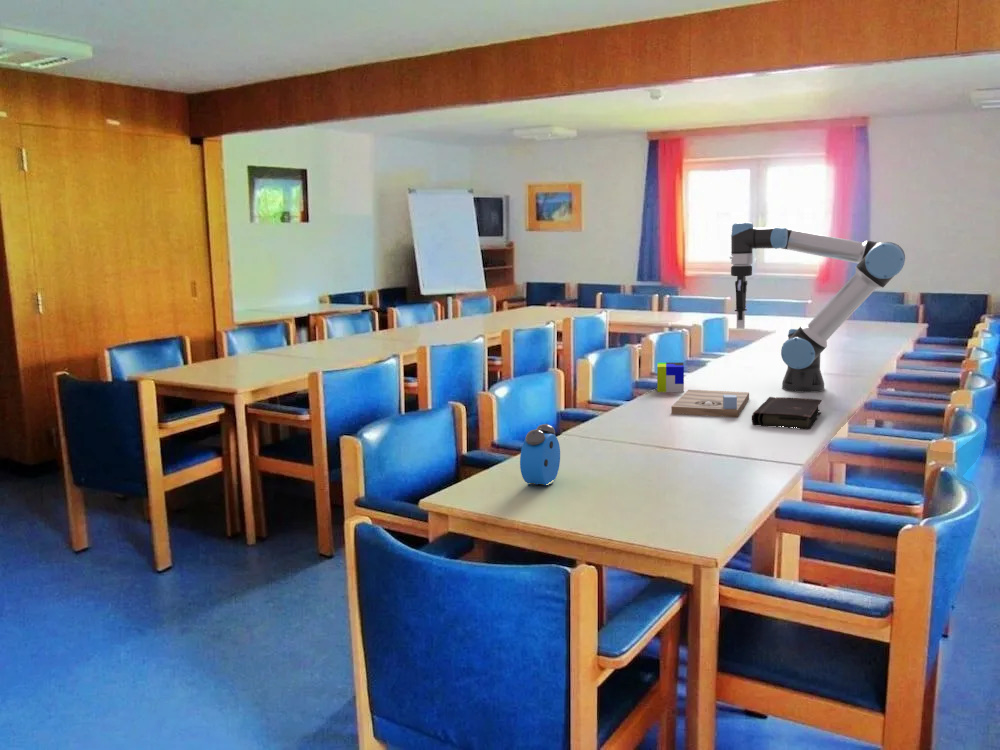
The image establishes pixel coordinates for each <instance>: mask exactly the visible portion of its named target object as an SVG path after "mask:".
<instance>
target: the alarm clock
mask: <svg viewBox="0 0 1000 750" xmlns="http://www.w3.org/2000/svg"><path fill="white" fill-rule="evenodd" d="M519 458H520V459H519V469H520V473H521V476H522V479H523V480H524V482H525V483H526V482H527V484H528V483H535V484H534V485H538V484H544V485H543V486H547V485H546V484H548V483H549V482H551V481H552V480H554V479H555V480H556V479H557V477H558V474H559V471H560V470H559V469H560V466H561V465H560V464H561V447H560V442H559V439H558V437H557V436H556V430H555V428H554V426H553V425H550V424H548V423H544V424H540V425H538V426H537V427H536V429H531V430H530V431H528V432H527V433H526V436H525V439H524V440H523V443H522V447H521V450H520V456H519ZM555 480H554V481H555Z"/></svg>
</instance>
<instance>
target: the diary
mask: <svg viewBox="0 0 1000 750" xmlns="http://www.w3.org/2000/svg"><path fill="white" fill-rule="evenodd" d="M822 401H823V400H822V399H815V398H805V397H772V396H769V397H768V398H767V399H766V400H765V402H762V404H760V406H759V407H758V408H757V409H756V410H754V412H753V413H752V415H751V422H752V425H753V426H756V425H761V426H760V427H768V426H776V427H775V428H779V427H778V426H781V427H782V426H784V427H788V428H787V429H791V428H790V427H793V428H794V427H795V428H796V427H797V428H800V429H799V430H811V429H812V427H813V426H814V425H815V423H816V422H817V420H818V417H819V416H821V415H822V412H820V411H821V410H820V408H819V405H820V404H821V402H822Z"/></svg>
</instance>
